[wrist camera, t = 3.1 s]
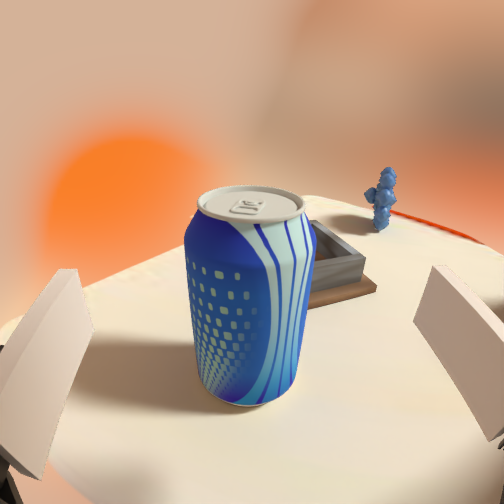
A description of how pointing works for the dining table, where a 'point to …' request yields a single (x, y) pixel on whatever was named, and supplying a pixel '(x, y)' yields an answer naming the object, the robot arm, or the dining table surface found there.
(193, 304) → the beer can
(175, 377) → the dining table surface
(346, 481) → the dining table surface
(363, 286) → the holder
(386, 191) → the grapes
